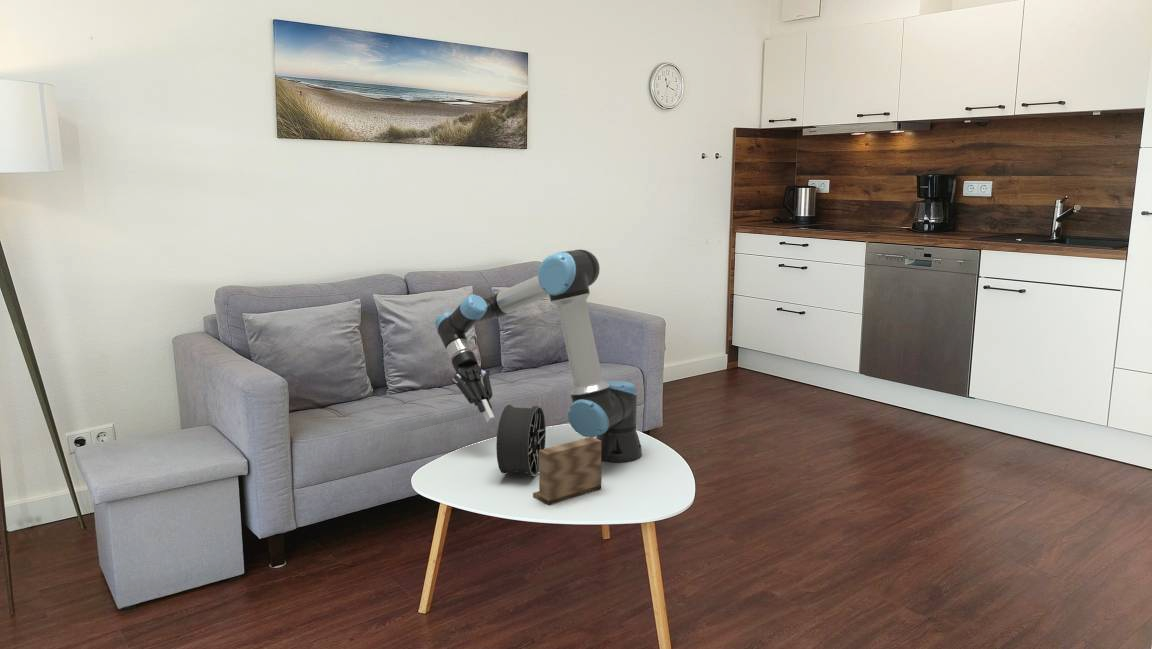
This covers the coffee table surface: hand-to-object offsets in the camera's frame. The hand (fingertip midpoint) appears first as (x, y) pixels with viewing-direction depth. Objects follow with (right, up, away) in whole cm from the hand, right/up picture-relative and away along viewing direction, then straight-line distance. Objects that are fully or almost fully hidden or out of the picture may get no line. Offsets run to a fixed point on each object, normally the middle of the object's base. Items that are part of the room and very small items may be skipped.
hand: (490, 419), depth 249 cm
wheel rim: (+10, -14, -11) cm, 21 cm away
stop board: (+24, -17, -26) cm, 39 cm away
